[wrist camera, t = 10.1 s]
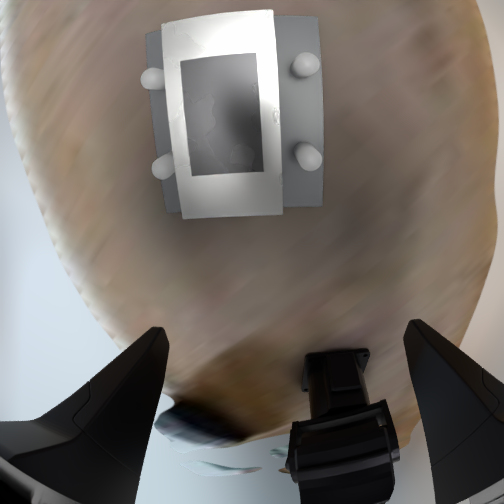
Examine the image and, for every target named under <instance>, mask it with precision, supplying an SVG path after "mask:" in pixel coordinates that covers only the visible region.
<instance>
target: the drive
mask: <svg viewBox="0 0 504 504" xmlns="http://www.w3.org/2000/svg"><path fill="white" fill-rule="evenodd" d="M161 28H162V48H163V64H164V77H165V89H166V100H167V109H168V119H169V128H170V136H171V144H172V152H173V159H174V166H175V173H176V180H177V187H178V193H179V199H180V205H181V211H182V217H183V219H196V218H214V217H236V216H261V215H283V191H282V157H281V131H280V109H279V90H278V73H277V58H276V44H275V31H274V19H273V10H252V11H238V12H228V13H219V14H212V15H205V16H199V17H193V18H187V19H182V20H177V21H173V22H168V23H164V24H161Z"/></svg>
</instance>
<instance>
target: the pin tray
mask: <svg viewBox="0 0 504 504" xmlns="http://www.w3.org/2000/svg"><path fill="white" fill-rule="evenodd" d="M273 19H274V31H275V44H276V58H277V73H278V90H279V109H280V131H281V157H282V191H283V207H322V201H323V159H324V130H323V89H322V68H321V52H320V39H319V27H318V17H315V16H285V15H279V16H273ZM146 54H147V70H145V71H144V72H143V74H142V76H141V84H142V86H143V87H144V88H146V89H149V93H150V104H151V113H152V122H153V130H154V138H155V145H156V152H157V159H156V160H155V161H154V162H153V164H152V173H153V175H154V176H155V177H156V178H158V179H161V184H162V190H163V196H164V201H165V207H166V212H167V213H176V212H182V211H181V205H180V199H179V193H178V187H177V180H176V173H175V166H174V159H173V152H172V144H171V136H170V128H169V119H168V109H167V100H166V89H165V77H164V64H163V48H162V30H159V31H155V32H151V33H147V34H146Z"/></svg>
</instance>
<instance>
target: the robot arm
mask: <svg viewBox="0 0 504 504" xmlns="http://www.w3.org/2000/svg"><path fill="white" fill-rule="evenodd" d="M403 341H404V346H405V351H406V356H407V361H408V367H409V372H410V376H411V380H412V384H413V387H414V391H415V395H416V399H417V402H418V406H419V410H420V414H421V419H422V423H423V427H424V432H425V436H426V441H427V447H428V452H429V457H430V463H431V470H432V477H433V484H434V491H435V501H436V504H457V503H459V502H461V501H463V500H465V499H467V498H469V500H470V504H504V384H503V383H502V382H500V381H499V380H498V379H496V378H495V377H494V376H492V375H491V374H490V373H489V372H487V371H486V370H485V369H484V368H482V367H481V366H480V365H479V364H478V363H476V362H475V361H474V360H473V359H471V358H470V357H469V356H468V355H466V354H465V353H464V352H462V351H461V350H460V349H459V348H458V347H456V346H455V345H454V344H452V343H451V342H450V341H449V340H447V339H446V338H445V337H443V336H442V335H441V334H439V333H438V332H437V331H436V330H434V329H433V328H432V327H430V326H429V325H428V324H426V323H425V322H424V321H422V320H421V319H413V320H410V321H409V323H408V326H407V328H406V331H405V334H404V337H403ZM168 353H169V341H168V338H167V335H166V333H165V330H164V328H163V327H152V328H150V329H149V330H148V331H147V332H145V333H144V334H143V335H142V336H141V337H140V338H138V339H137V340H136V341H135V342H134V343H133V344H131V345H130V346H129V347H128V348H127V349H125V350H124V351H123V352H122V353H121V354H120V355H118V356H117V357H116V358H115V359H114V360H113V361H111V362H110V363H109V364H108V365H107V366H106V367H104V368H103V369H102V370H101V371H100V372H99V373H97V374H96V375H95V376H94V377H93V378H92V379H90V382H89V381H88V382H87V383H86V384H84V385H83V386H82V387H81V388H80V389H78V390H77V391H76V392H75V393H74V394H72V395H71V396H70V397H68V398H67V399H65V400H64V401H63V402H61V403H60V404H58V405H57V406H56V407H54V408H53V409H51V410H50V411H48V412H47V413H45V414H44V415H42V416H41V417H39V418H37V419H34V420H30V421H5V422H4V421H2V422H0V504H135V499H136V494H137V490H138V485H139V481H140V475H141V471H142V466H143V462H144V457H145V453H146V449H147V445H148V441H149V437H150V433H151V429H152V425H153V421H154V417H155V414H156V410H157V406H158V402H159V399H160V395H161V391H162V388H163V384H164V378H165V372H166V366H167V359H168ZM369 357H370V352H369V350H368V349H364V350H354V351H344V352H332V353H318V354H308V355H307V356H306V357H305V363H304V371H303V379H302V386H301V389H302V392H309V401H310V413H311V419H310V420H305V421H300V422H299V421H295V422H292V429H291V430H290V441H289V449H288V457H287V460H286V464H285V467H286V469H287V470H288V471H290V474H291V477H292V480H293V481H294V483H298V485H299V491H300V499H301V504H385V503H386V502H387V501H388V500H389V499H390V497H391V495H392V492H393V490H394V485H395V477H394V469H393V463H394V462H397V461H399V460H400V453H399V445H398V439H397V435H396V431H395V428H394V424H393V421H392V418H391V415H390V411H389V408H388V405H387V402H386V399H383V400H380V402H377V403H374V404H370V401H369V397H368V392H367V388H366V384H365V380H364V376H363V372H364V370H365V367H366V365H367V362H368V359H369ZM381 424H382V426H380V427H379V425H381Z"/></svg>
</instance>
